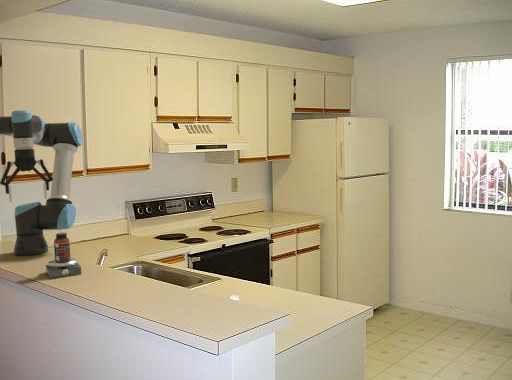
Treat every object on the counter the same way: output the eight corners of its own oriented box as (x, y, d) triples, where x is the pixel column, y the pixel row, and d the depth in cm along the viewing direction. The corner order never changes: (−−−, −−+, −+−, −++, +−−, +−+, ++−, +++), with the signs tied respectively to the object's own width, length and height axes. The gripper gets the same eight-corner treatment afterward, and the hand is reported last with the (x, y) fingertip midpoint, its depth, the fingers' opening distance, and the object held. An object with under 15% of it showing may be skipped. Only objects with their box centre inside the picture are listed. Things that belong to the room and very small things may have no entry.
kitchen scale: (46, 272, 232) (45, 260, 231) (77, 268, 237) (76, 256, 237) (49, 278, 222) (48, 266, 221) (81, 274, 227) (80, 262, 226)
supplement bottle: (58, 263, 225) (56, 235, 224) (52, 261, 229) (50, 233, 228) (73, 261, 229) (71, 233, 227) (67, 258, 233) (65, 231, 232)
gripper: (-9, 150, 227) (-5, 203, 229) (57, 147, 238) (61, 198, 240) (-10, 149, 233) (-5, 201, 236) (54, 146, 244) (58, 196, 247)
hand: (28, 200), depth 238 cm, fingers open, 13 cm apart
